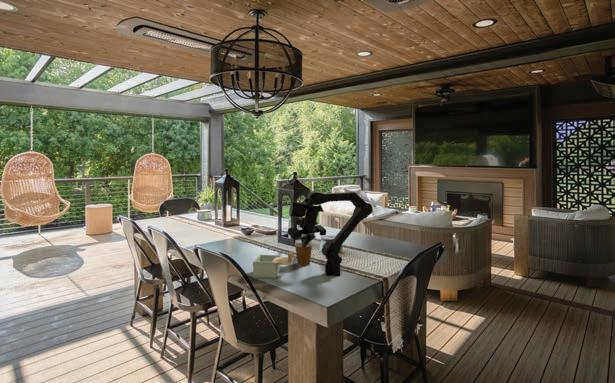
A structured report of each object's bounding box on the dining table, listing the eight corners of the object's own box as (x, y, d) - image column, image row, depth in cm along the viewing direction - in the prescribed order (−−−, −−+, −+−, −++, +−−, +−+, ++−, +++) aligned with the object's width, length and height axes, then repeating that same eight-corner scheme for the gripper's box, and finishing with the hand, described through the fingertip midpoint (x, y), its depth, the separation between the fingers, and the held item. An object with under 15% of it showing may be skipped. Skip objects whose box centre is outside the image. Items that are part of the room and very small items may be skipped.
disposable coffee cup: (316, 263, 192) (316, 240, 191) (303, 268, 185) (303, 244, 184) (303, 260, 199) (303, 238, 197) (290, 264, 192) (290, 241, 190)
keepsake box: (279, 270, 181) (279, 255, 180) (274, 278, 169) (274, 262, 169) (259, 269, 182) (259, 254, 182) (253, 277, 171) (253, 261, 170)
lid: (293, 259, 179) (293, 250, 178) (290, 264, 169) (290, 255, 169) (275, 258, 180) (275, 249, 179) (271, 264, 170) (270, 255, 170)
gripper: (317, 209, 183) (310, 236, 188) (284, 211, 172) (278, 240, 178) (330, 219, 175) (322, 248, 180) (297, 223, 164) (289, 253, 169)
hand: (303, 247), depth 177 cm, fingers closed
